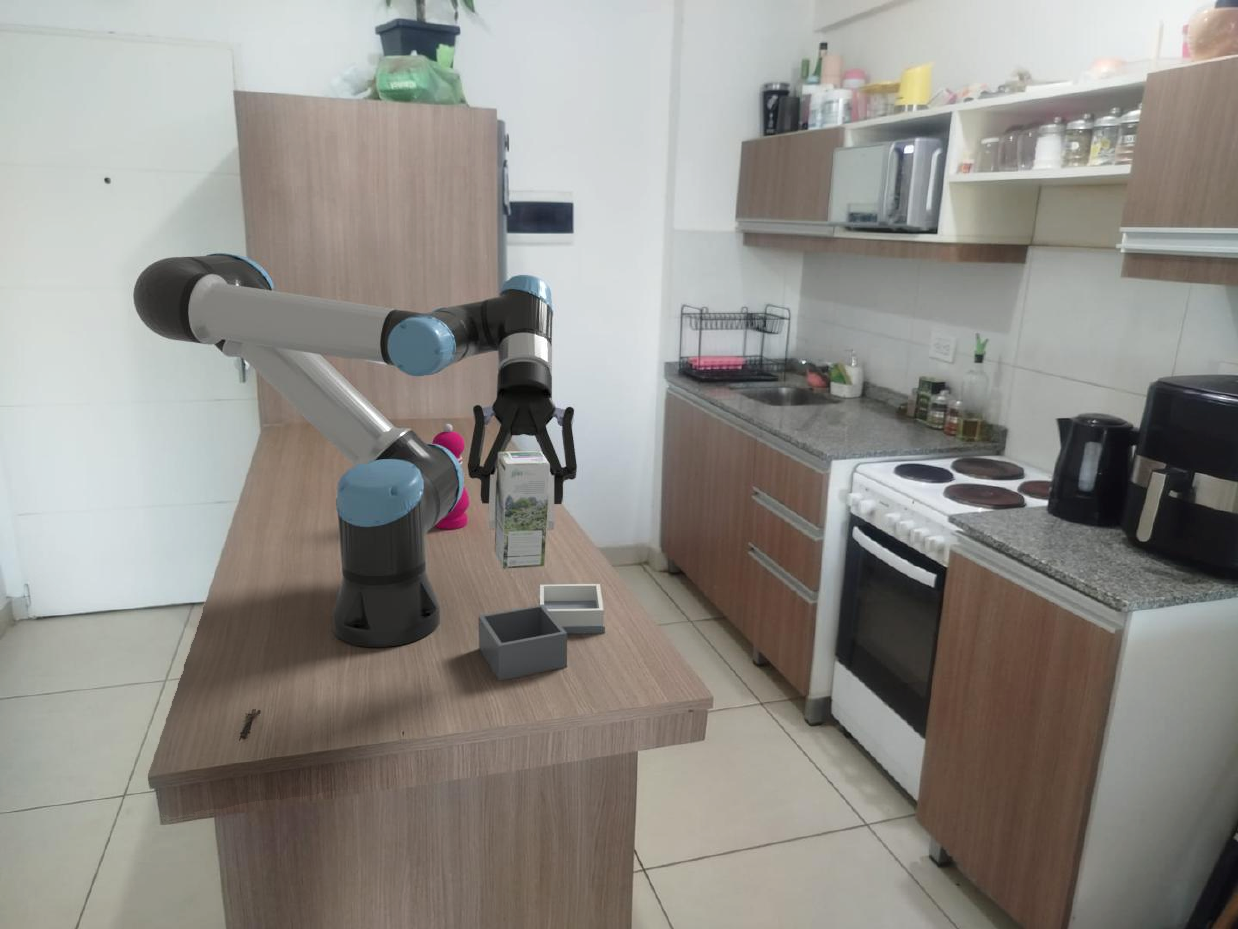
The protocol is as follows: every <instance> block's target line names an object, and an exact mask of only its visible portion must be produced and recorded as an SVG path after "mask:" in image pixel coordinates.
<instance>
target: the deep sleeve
mask: <svg viewBox="0 0 1238 929" xmlns="http://www.w3.org/2000/svg"><path fill="white" fill-rule="evenodd" d="M478 646H479V647H478V648H479V651H480V652H481V653H482V655H483V657H484V658H485V660H486V662H487V663H488V665H489V666H490V668H491V670H492V671H493V673H494V675H495V676H496V678H497V679H498V681H500V682H501V681H504V680H509V679H514V678H519V677H524V676H529V675H533V674H539V673H544V672H549V671H553V670H558V669H564V668H567V667H568V633H567V632H566V631H565V630H564V629H563V628H562V626H561V625H560V624H559V623H558V622H557V621H556V619H555V618H554V617H553V616H552V615H551V613H550V612H549V611H548V610H547V609H546V608H545V606H544V605H539V604H538V605H531V606H526V607H520V608H515V609H508V610H504V611H497V612H492V613H486V614H485V613H484V614H480V615H478Z"/></svg>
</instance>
